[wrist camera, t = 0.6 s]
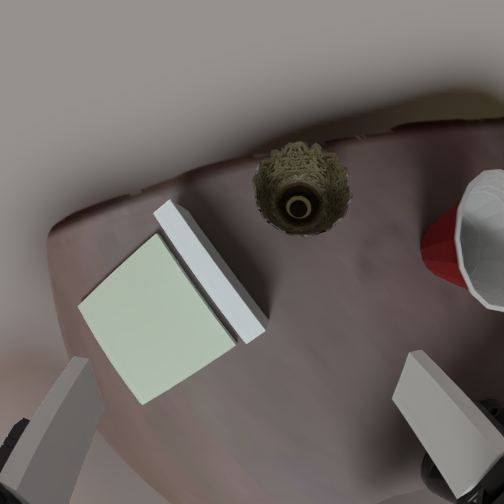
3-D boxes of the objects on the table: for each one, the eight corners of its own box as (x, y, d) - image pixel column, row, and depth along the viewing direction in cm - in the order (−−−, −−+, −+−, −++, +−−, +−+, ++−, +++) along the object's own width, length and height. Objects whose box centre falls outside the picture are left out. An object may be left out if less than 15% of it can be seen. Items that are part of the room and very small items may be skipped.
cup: (259, 176, 29) (249, 143, 21) (330, 171, 28) (344, 138, 20) (263, 248, 29) (255, 239, 21) (338, 243, 28) (357, 232, 20)
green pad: (237, 343, 28) (235, 345, 27) (144, 402, 29) (142, 405, 28) (159, 234, 30) (156, 233, 29) (81, 305, 31) (77, 306, 30)
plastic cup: (378, 250, 27) (434, 235, 15) (434, 182, 27) (495, 142, 15) (438, 321, 26) (506, 342, 14) (487, 251, 25) (556, 241, 13)
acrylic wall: (269, 320, 28) (265, 330, 23) (253, 332, 28) (246, 344, 23) (187, 210, 30) (169, 199, 25) (173, 222, 30) (153, 213, 25)
